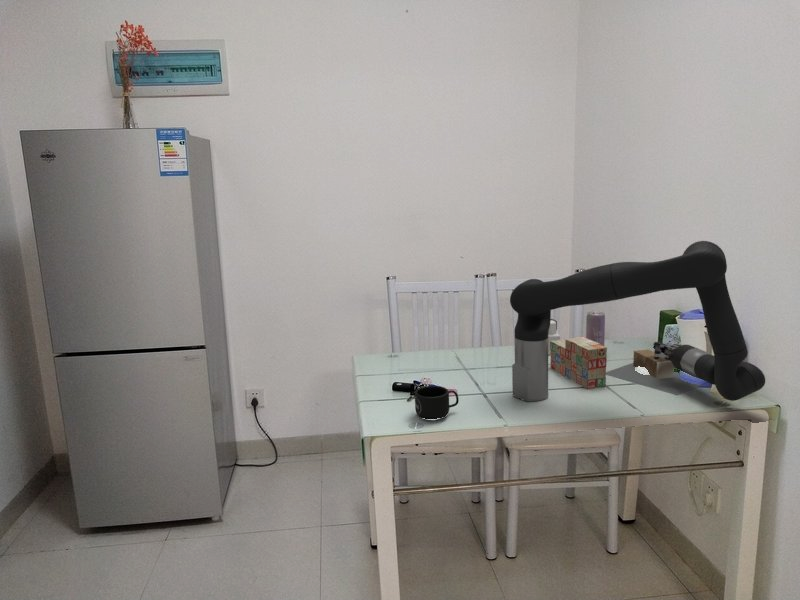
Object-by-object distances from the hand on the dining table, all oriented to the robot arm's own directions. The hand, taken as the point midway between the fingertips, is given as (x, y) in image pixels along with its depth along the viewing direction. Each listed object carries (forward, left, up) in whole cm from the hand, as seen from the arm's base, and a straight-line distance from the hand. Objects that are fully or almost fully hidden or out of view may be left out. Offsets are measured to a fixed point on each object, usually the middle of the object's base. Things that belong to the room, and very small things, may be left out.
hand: (656, 345), depth 164 cm
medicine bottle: (-6, +37, -9) cm, 39 cm away
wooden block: (-2, -5, -6) cm, 8 cm away
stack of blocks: (-19, +14, -10) cm, 26 cm away
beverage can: (+3, +24, -9) cm, 26 cm away
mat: (-2, -2, -9) cm, 10 cm away
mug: (-70, +18, -10) cm, 73 cm away
